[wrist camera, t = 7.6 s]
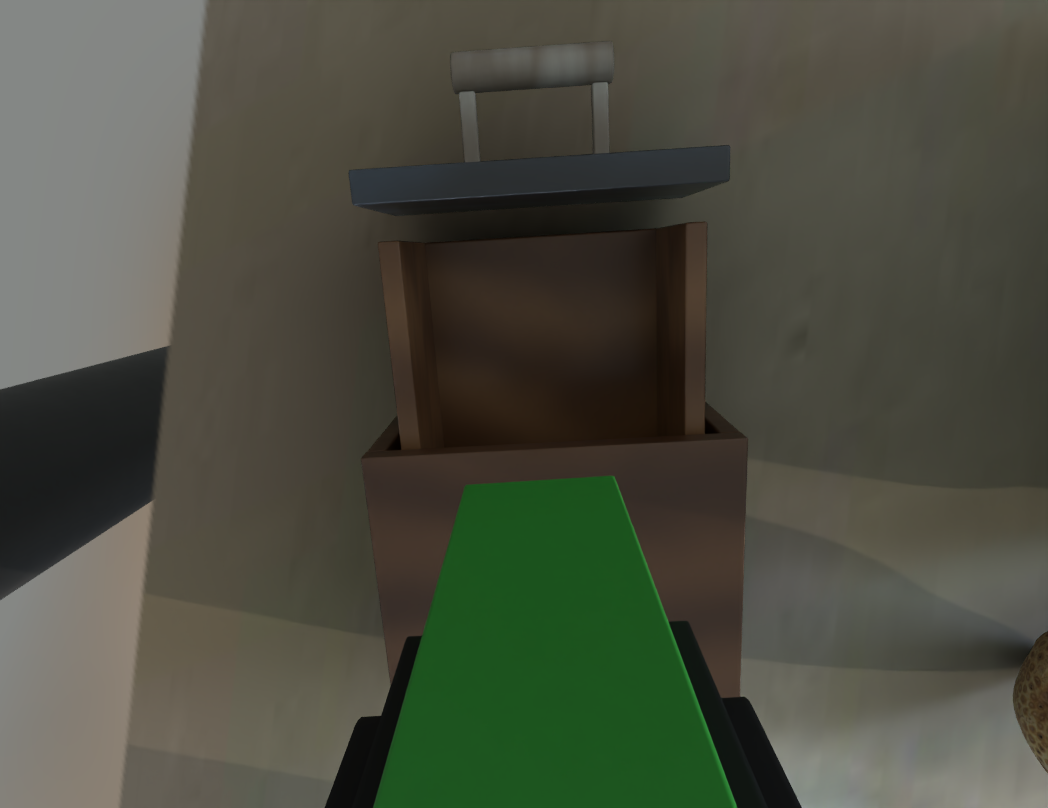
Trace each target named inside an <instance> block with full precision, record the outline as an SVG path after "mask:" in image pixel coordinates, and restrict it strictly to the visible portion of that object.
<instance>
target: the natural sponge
mask: <svg viewBox="0 0 1048 808" xmlns="http://www.w3.org/2000/svg"><path fill="white" fill-rule="evenodd" d="M1013 703H1014V710H1015V714H1016V718H1017V720H1018V723H1019V725H1020V727H1021V730H1022V732H1023V735H1024V737H1025V739H1026V741H1027V743H1028V744H1029V746H1030V748H1031V750H1032V751H1033V753H1034V754H1035V756H1036V757H1037V759H1038V760H1039V762H1040V763H1041V765H1042V766H1043V768H1044V769H1045V770H1046V772H1047V773H1048V632H1046V633H1044V634H1042V635H1041V636H1040V637H1039V638H1038V639H1037V640H1036V642H1035V644H1034V646H1033V647H1032V649H1031V651H1030V653H1029V654H1028V656H1027V657H1026V658H1025V660H1024V662H1023V664H1022V666H1021V668H1020V671H1019V674H1018V677H1017V679H1016V682H1015V686H1014V692H1013Z"/></svg>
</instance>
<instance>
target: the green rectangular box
mask: <svg viewBox="0 0 1048 808" xmlns="http://www.w3.org/2000/svg"><path fill="white" fill-rule="evenodd" d="M373 808H737V806H736V803H735V800H734V798H733V795H732V792H731V789H730V787H729V784H728V781H727V779H726V776H725V773H724V771H723V768H722V765H721V763H720V760H719V757H718V754H717V752H716V749H715V746H714V744H713V741H712V738H711V736H710V733H709V730H708V727H707V725H706V722H705V719H704V717H703V714H702V711H701V709H700V706H699V703H698V700H697V698H696V695H695V692H694V690H693V687H692V684H691V682H690V679H689V676H688V674H687V671H686V668H685V665H684V663H683V660H682V657H681V655H680V652H679V649H678V647H677V644H676V641H675V638H674V636H673V633H672V630H671V628H670V625H669V622H668V620H667V617H666V614H665V612H664V609H663V606H662V603H661V601H660V598H659V595H658V593H657V590H656V587H655V585H654V582H653V579H652V576H651V574H650V571H649V568H648V566H647V563H646V560H645V558H644V555H643V552H642V549H641V547H640V544H639V541H638V539H637V536H636V533H635V531H634V528H633V525H632V523H631V520H630V517H629V514H628V512H627V509H626V506H625V504H624V501H623V498H622V496H621V493H620V490H619V487H618V485H617V482H616V479H615V477H614V476H599V477H583V478H567V479H551V480H536V481H520V482H504V483H488V484H472V485H466V486H465V487H464V491H463V494H462V498H461V501H460V505H459V508H458V512H457V515H456V519H455V522H454V526H453V529H452V533H451V536H450V540H449V543H448V547H447V550H446V554H445V557H444V561H443V564H442V568H441V571H440V575H439V578H438V582H437V585H436V589H435V592H434V596H433V599H432V603H431V606H430V610H429V613H428V617H427V620H426V624H425V627H424V631H423V634H422V638H421V641H420V645H419V648H418V652H417V655H416V659H415V662H414V666H413V669H412V673H411V677H410V680H409V684H408V687H407V691H406V694H405V698H404V701H403V705H402V708H401V712H400V715H399V719H398V722H397V726H396V729H395V733H394V736H393V740H392V743H391V747H390V750H389V754H388V757H387V761H386V764H385V768H384V771H383V775H382V778H381V782H380V785H379V789H378V792H377V796H376V799H375V803H374V806H373Z"/></svg>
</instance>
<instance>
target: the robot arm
mask: <svg viewBox="0 0 1048 808" xmlns="http://www.w3.org/2000/svg"><path fill="white" fill-rule="evenodd" d="M669 625H670V628H671V630H672V633H673V636H674V638H675V641H676V644H677V647H678V649H679V652H680V655H681V657H682V660H683V663H684V665H685V668H686V671H687V674H688V676H689V679H690V682H691V684H692V687H693V690H694V692H695V695H696V698H697V700H698V703H699V706H700V709H701V711H702V714H703V717H704V719H705V722H706V725H707V727H708V730H709V733H710V736H711V738H712V741H713V744H714V746H715V749H716V752H717V754H718V757H719V760H720V763H721V765H722V768H723V771H724V773H725V776H726V779H727V781H728V784H729V787H730V789H731V792H732V795H733V798H734V800H735V803H736V806H737V808H802V807H801V805H800V803H799V801H798V799H797V797H796V795H795V793H794V791H793V789H792V787H791V785H790V783H789V781H788V779H787V777H786V774H785V772H784V770H783V768H782V766H781V764H780V762H779V760H778V758H777V756H776V754H775V752H774V750H773V748H772V746H771V744H770V742H769V740H768V738H767V735H766V733H765V731H764V729H763V727H762V725H761V723H760V721H759V719H758V717H757V715H756V713H755V711H754V709H753V707H752V705H751V703H750V702H749V700H748V699H747V698H746V697H729V698H721V696H720V694H719V692H718V689H717V687H716V685H715V682H714V680H713V678H712V675H711V673H710V671H709V668H708V666H707V664H706V661H705V659H704V656H703V654H702V652H701V649H700V647H699V645H698V642H697V640H696V638H695V635H694V633H693V631H692V628H691V626H690V624H689V622H688V621H670V622H669ZM421 638H422V636H408V637H407V638H406V641H405V643H404V647H403V650H402V653H401V656H400V659H399V662H398V665H397V668H396V671H395V675H394V678H393V681H392V684H391V687H390V690H389V693H388V696H387V699H386V703H385V706H384V709H383V712H382V715H381V716H373V717H361V718H360V719H359V720H358V721H357V723H356V725H355V727H354V730H353V733H352V735H351V738H350V741H349V743H348V746H347V749H346V752H345V754H344V757H343V760H342V762H341V765H340V768H339V770H338V773H337V776H336V779H335V781H334V784H333V787H332V789H331V792H330V795H329V798H328V800H327V803H326V806H325V808H373V806H374V803H375V799H376V796H377V792H378V789H379V785H380V782H381V778H382V775H383V771H384V768H385V764H386V761H387V757H388V754H389V750H390V747H391V743H392V740H393V736H394V733H395V729H396V726H397V722H398V719H399V715H400V712H401V708H402V705H403V701H404V698H405V694H406V691H407V687H408V684H409V680H410V677H411V673H412V669H413V666H414V662H415V659H416V655H417V652H418V648H419V645H420V641H421Z"/></svg>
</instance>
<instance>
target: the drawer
mask: <svg viewBox="0 0 1048 808" xmlns="http://www.w3.org/2000/svg"><path fill="white" fill-rule="evenodd" d="M450 69H451V78H452V85H453V90H454V92H455V94H459V101H460V114H461V127H462V140H463V152H464V162H463V163H448V164H433V165H418V166H403V167H388V168H372V169H357V170H349V180H350V188H351V196H352V204H353V205H355V206H359V207H362V208H366V209H370V210H374V211H378V212H382V213H386V214H390V215H394V216H403V215H419V214H434V213H450V212H466V211H482V210H497V209H513V208H529V207H545V206H560V205H576V204H592V203H608V202H623V201H639V200H655V199H671V198H683V197H686V196H689V195H691V194H694V193H697V192H700V191H703V190H705V189H708V188H711V187H714V186H717V185H719V184H722V183H725V182H728V181H729V179H730V146H729V145H721V146H706V147H691V148H676V149H661V150H646V151H630V152H615V153H610V146H609V104H608V84H610V83H612V81H613V76H614V47H613V43H612V41H601V42H587V43H573V44H559V45H545V46H531V47H517V48H503V49H489V50H475V51H461V52H452V53H451V55H450ZM584 85H592V86H591V110H592V143H593V154H585V155H570V156H554V157H539V158H524V159H509V160H494V161H481V159H480V145H479V131H478V117H477V103H476V95H475V93H482V92H497V91H511V90H526V89H540V88H555V87H569V86H584ZM378 250H379V259H380V267H381V276H382V285H383V294H384V302H385V311H386V320H387V329H388V338H389V346H390V355H391V364H392V373H393V381H394V390H395V399H396V408H397V416H398V425H399V434H400V443H401V450H411V449H430V448H449V447H468V446H487V445H506V444H525V443H545V442H564V441H583V440H602V439H621V438H640V437H659V436H678V435H697V434H705V363H706V286H707V222H690V223H683V224H678V225H672V226H667V227H662V228H654V229H638V230H622V231H606V232H590V233H574V234H557V235H541V236H525V237H509V238H493V239H477V240H461V241H445V242H429V243H420V242H407V241H386V242H378Z"/></svg>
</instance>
